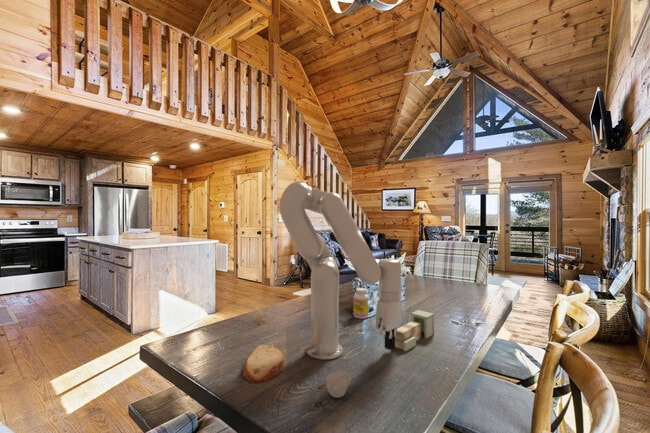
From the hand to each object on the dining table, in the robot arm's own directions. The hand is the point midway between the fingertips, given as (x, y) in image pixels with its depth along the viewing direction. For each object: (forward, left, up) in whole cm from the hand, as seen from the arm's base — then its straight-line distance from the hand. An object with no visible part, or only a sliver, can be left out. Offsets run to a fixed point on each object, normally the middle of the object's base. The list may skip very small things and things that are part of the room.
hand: (389, 348), depth 107 cm
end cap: (+24, 0, -2) cm, 24 cm away
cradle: (+8, 0, -2) cm, 8 cm away
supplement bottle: (+22, +30, -2) cm, 38 cm away
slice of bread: (-36, +24, -2) cm, 43 cm away
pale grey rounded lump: (-32, -5, -2) cm, 32 cm away
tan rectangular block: (+12, 0, -2) cm, 13 cm away
